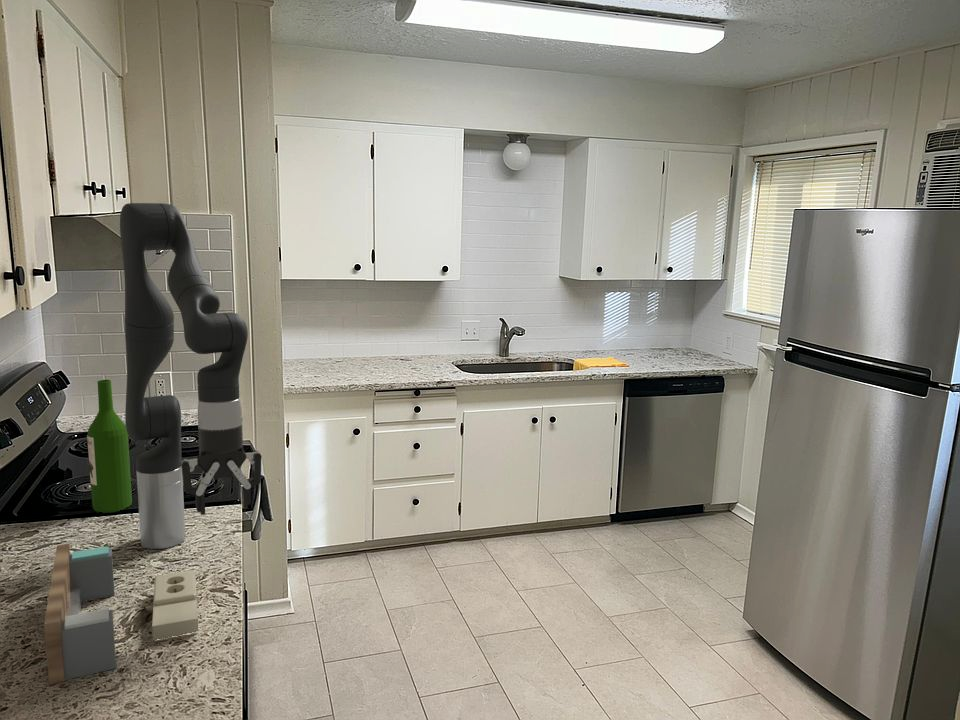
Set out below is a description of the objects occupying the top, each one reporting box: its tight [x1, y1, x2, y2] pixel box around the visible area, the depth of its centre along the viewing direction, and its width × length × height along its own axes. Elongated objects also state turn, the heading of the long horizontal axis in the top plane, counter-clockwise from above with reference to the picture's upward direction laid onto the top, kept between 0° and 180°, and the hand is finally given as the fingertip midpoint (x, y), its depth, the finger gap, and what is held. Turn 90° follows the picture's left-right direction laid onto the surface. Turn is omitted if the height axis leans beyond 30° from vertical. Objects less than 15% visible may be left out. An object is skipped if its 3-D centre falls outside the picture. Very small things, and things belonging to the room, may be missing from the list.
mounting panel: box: [43, 543, 71, 686], centre depth 120 cm, size 31×2×10 cm, turn 28°
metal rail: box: [68, 584, 82, 616], centre depth 122 cm, size 22×2×4 cm, turn 27°
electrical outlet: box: [151, 570, 199, 641], centre depth 129 cm, size 7×4×18 cm
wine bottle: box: [86, 379, 133, 514], centre depth 176 cm, size 9×9×32 cm
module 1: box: [69, 545, 115, 602], centre depth 134 cm, size 4×7×9 cm, turn 118°
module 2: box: [61, 607, 117, 681], centre depth 111 cm, size 4×7×9 cm, turn 118°
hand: (223, 510), depth 131 cm, fingers open, 7 cm apart
